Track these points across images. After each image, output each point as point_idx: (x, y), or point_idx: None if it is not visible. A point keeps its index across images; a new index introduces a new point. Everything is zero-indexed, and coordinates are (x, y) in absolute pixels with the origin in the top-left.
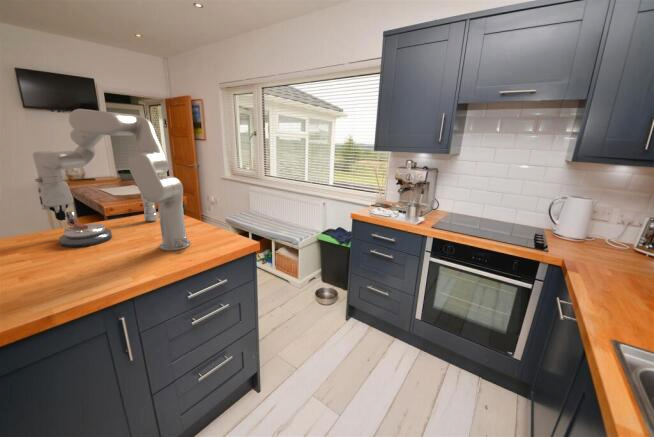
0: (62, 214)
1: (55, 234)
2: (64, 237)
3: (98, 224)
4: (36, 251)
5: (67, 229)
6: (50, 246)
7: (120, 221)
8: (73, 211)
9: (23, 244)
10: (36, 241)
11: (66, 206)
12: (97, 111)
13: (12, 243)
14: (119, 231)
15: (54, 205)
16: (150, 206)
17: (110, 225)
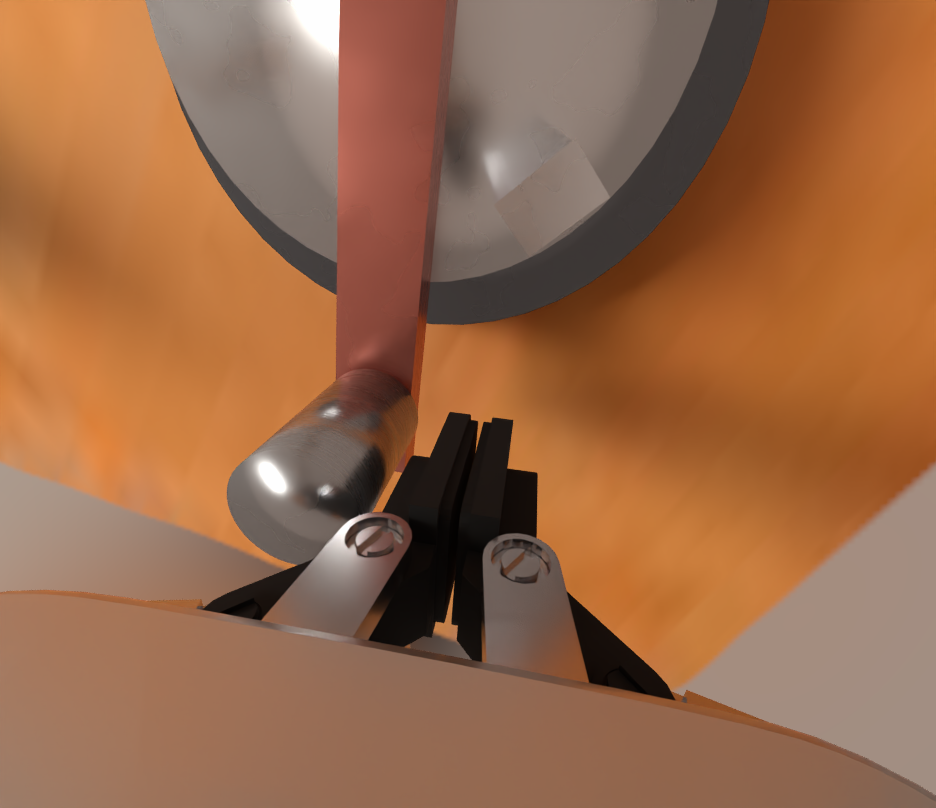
0: (456, 473)
1: None
2: (635, 170)
3: (176, 46)
4: (904, 205)
5: (586, 163)
6: (732, 242)
7: (12, 399)
8: (234, 495)
9: (735, 515)
10: (647, 499)
11: (252, 608)
12: None
13: (732, 599)
14: (95, 53)
15: (677, 729)
16: None
17: (106, 367)
